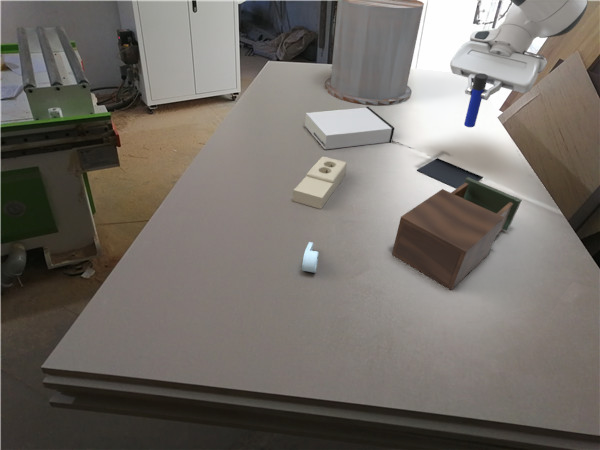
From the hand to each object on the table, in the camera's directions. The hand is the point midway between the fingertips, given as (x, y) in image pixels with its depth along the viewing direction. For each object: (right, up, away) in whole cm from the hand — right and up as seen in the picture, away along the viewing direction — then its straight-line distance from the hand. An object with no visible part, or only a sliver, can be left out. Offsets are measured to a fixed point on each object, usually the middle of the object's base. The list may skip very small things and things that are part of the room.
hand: (475, 95), depth 98 cm
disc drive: (-28, -3, +31) cm, 42 cm away
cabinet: (-14, -38, -14) cm, 42 cm away
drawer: (-4, -31, -7) cm, 32 cm away
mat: (0, -17, +14) cm, 22 cm away
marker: (+1, -6, +6) cm, 8 cm away
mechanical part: (-41, -39, -18) cm, 59 cm away
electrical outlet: (-37, -22, +4) cm, 44 cm away
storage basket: (-15, +24, +67) cm, 73 cm away
